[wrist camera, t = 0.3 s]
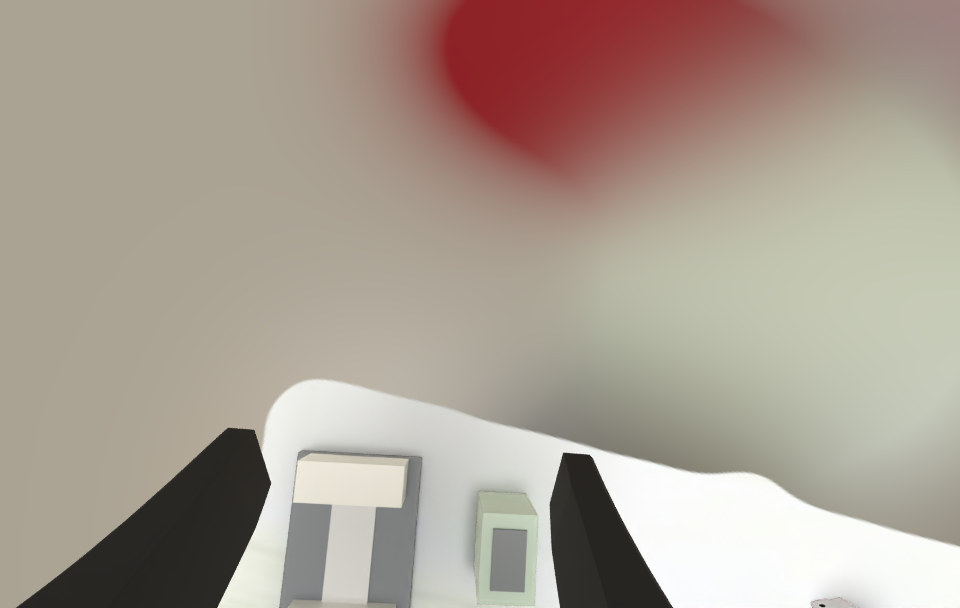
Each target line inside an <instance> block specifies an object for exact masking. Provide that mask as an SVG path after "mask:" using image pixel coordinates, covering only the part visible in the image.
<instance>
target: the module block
mask: <svg viewBox="0 0 960 608" xmlns="http://www.w3.org/2000/svg"><path fill="white" fill-rule="evenodd" d="M537 537H538V514H537V512H536V511H535V509H534V507H533V506H532V504H531V502H530V500H529V499H528V497H527V495H526V494H523V493H504V492H486V491H479V493H478V509H477V525H476V541H475V557H474V573H475V583H476V594H477V604H489V605H513V606H535V584H536V560H537Z"/></svg>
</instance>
